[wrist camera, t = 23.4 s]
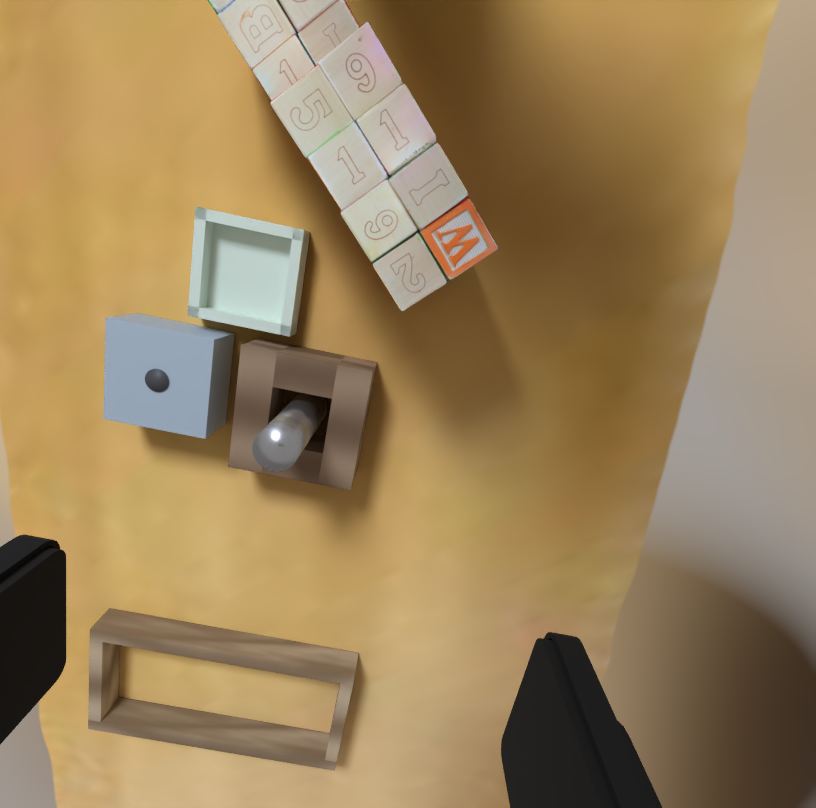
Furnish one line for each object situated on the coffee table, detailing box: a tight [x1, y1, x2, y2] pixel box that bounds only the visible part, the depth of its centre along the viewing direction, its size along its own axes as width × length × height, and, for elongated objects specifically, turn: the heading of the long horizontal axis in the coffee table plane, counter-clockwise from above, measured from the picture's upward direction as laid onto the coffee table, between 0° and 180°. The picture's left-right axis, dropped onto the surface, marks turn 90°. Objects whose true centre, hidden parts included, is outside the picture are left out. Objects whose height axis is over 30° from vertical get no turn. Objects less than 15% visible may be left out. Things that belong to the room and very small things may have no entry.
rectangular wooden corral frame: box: [88, 608, 358, 771], centre depth 46 cm, size 12×25×3 cm, turn 78°
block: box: [104, 313, 235, 439], centre depth 36 cm, size 8×8×4 cm
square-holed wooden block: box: [228, 338, 377, 490], centre depth 37 cm, size 10×10×4 cm
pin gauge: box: [252, 393, 327, 472], centre depth 34 cm, size 3×3×10 cm
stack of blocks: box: [208, 0, 498, 312], centre depth 28 cm, size 21×6×12 cm, turn 33°
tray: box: [188, 207, 310, 337], centre depth 35 cm, size 8×8×2 cm
